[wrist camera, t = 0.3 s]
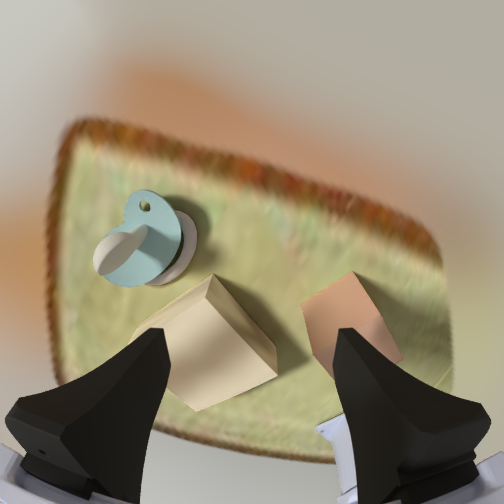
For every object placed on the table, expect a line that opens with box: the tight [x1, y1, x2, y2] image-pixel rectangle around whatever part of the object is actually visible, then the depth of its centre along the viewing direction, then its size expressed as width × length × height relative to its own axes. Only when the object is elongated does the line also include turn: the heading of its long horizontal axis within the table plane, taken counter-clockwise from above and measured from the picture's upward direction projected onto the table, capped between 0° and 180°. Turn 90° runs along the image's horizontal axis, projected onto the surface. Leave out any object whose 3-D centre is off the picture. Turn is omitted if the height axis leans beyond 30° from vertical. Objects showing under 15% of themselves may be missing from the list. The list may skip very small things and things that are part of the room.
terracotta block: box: [301, 271, 404, 380], centre depth 19 cm, size 4×4×6 cm
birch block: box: [127, 274, 278, 412], centre depth 21 cm, size 8×8×4 cm
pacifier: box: [93, 190, 197, 287], centre depth 18 cm, size 7×6×6 cm
